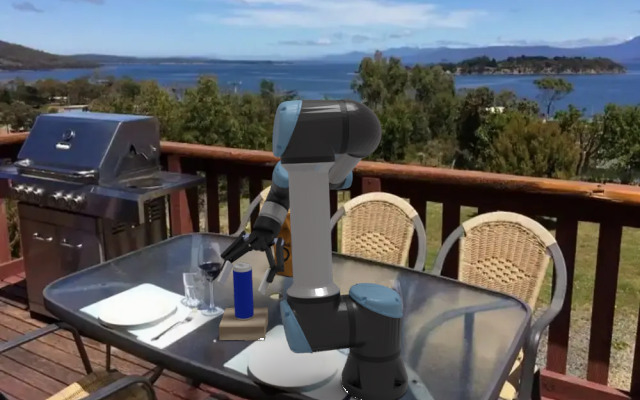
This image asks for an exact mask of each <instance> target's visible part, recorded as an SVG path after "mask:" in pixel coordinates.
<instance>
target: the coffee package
mask: <svg viewBox="0 0 640 400" xmlns="http://www.w3.org/2000/svg"><path fill="white" fill-rule="evenodd" d="M278 237H281V238H282V239H283V240H284V241H285V244H284V248H283V252H284V269H285V270H284V272H277V273H276V275H281V276H286V277H291V278H293V265H292V243H291V221H290V212H288V213H287V216H286V218H285V220H284V223H283V225H282V226H281V230H280V232H279V235H278ZM278 237H277V238H278ZM273 252H274V253H273V257H274V260H275V263H276V266H277V261H276V244H274V245H273Z"/></svg>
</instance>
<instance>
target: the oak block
mask: <svg viewBox="0 0 640 400" xmlns="http://www.w3.org/2000/svg"><path fill="white" fill-rule="evenodd" d="M268 324H269V307H254V315H253V317H252V318H251V319H248V320H239V319H237V318H236V317H235V307H225V309H224V311H223V315H222V317H221V320H220V323H219V326H218V334H219V341H220V340H245V341H259V340H258V339H260V338H265V339H266V336H267V330H268ZM265 335H266V336H265Z"/></svg>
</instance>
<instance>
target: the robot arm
mask: <svg viewBox="0 0 640 400" xmlns="http://www.w3.org/2000/svg"><path fill="white" fill-rule="evenodd" d="M275 112H276V113H275V116H274V122H273V127H272V129H273V130H272V155H273V157H275V158H280V160H279V161H278V162H276V164H275V166H274V169H273V172H272V178H271V182H270V183H271V184H270V188H269V191H268V192H267V196H266V198H265V200H264V202H263V204H262V206H261V208H260V210H259V212H258V216H257V217H256V220H255V222H254V224H253V226H252V231H251V232H250V233H249V232H246V231H245V230H242V231H241V232H240V234H239V236H237V238H236V239H235V240H234V241H233V242H232V243H231V244H229V246H228V247H226V249H225V250H224V251H222V253H221V254H220V258H221V259H223V264H222V266H221V267H220V274H219V276H218V277H217V281H216V282H217V284H219V285H221V286H223V287H224V286H225V284H226V282H227V280H228V278H229V275H230V274H231V272H232V270H233V267H234V264H233V263H234V262H236V261H238V260H239V259H240V258H241V257H243V256H245V255H246V254H248V253H249V252H252V251H256V252H257V251H258V252H259V251H260V252H262V253H265V256H266V259H267V262H268V265H269V267H268V268H266V271H265V272H264V274H263V277H262V279H261V282H260V285H259V286H258V289H257V291H258V293H259V294H261V295H262V296H265V294H266V292H267V290H268V287H269V285H270V284H272V283H273V282H274V280H275V276H276V275H277V274H276V273H277V272H284V270H285V269H284V252H283V248H284V244H285V241H284V240H283V239H282V238H281V237H278V235H279V232H280V230H281V226H282V225H283V223H284V220H285V218H286V216H287V213H290V221H291V243H292V265H293V277H292V279H293V280H292V284H291V285H290V287H289V288H288V289H286V299H285V298H284V299H282V300H281V301H280V303H279V306H280V308H279V310H280V316H281V322H282V326H283V330H284V336H285V338H286V342H287V345H288V348H289V350H290V351H291V352H293V353H294V354H314V353H320V352H329V351H339V350H347V349H349V351H348V355H347V358H346V361H345V363H344V365H343V369H342V370H341V371H342V372H341V386H342V385H343V387H344V388H345V389H346V391H348V393H349V394H348V395H349V396H350V395H351V396H350V397H352V396H353V397H356V398H358V399H362V400H398V399H400V398H401V397H403V396H404V395H405V394H406V392H407V390H408V387H409V377H408V376H409V375H408V373H407V369H406V366H405V363H404V360H403V356H402V331H403V330H402V327H403V325H402V324H403V316H404V313H403V304H402V303H403V301H402V298H401V295H400V294H399V293H398V292H397V291H396V290H394V289H392V288H391V287H388V286H385V285H382V284H377V283H371V282H360V283H356V284H352V285H351V286H350V288H349V289H348V293H347V294H341V288H340V287H339V286H338V285H337V284H336V283H335V282H334V280H333V278H334V277H333V258H332V255H333V254H332V252H333V251H332V250H333V249H332V229H331V227H332V226H331V203H330V190H337V191H338V190H341V189H342V190H343V189H348V188H350V187H351V186H352V183H353V170H354V169H355V167H357V165H358V164H359V163H360V162H361V160H362V159H364V158H367V157H369V156H370V155H372V154H373V153H374V152H375V151H376V150H377V148H378V146H379V144H380V142H381V140H382V126H381V122H380V120H379V118H378V116H377V114H376V113H375V112H374V111H373V110H372V109H371V108H370V107H369V106H367V105H366V104H364V103H362V102H359V101H357V100H353V99H349V98H347V99H346V98H345V99H343V98H342V99H297V100H296V99H295V100H287V101H283V102H281V103H280V104H279V105H278V106H277V108H276V111H275ZM277 237H278V238H277ZM274 244H276V261H277V266H276V263H275V260H274V253H273V252H274V251H273V250H272V246H274ZM343 387H342V388H343ZM353 397H352V398H353ZM356 398H355V399H356ZM358 399H357V400H358Z"/></svg>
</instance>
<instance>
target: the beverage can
mask: <svg viewBox="0 0 640 400" xmlns="http://www.w3.org/2000/svg"><path fill="white" fill-rule="evenodd" d="M232 282H233V283H232V285H233V302H234V307H233V308H235V317H236V318H237V319H239V320H248V319H251V318H252V317H253V315H254V308H255V307H254V287H253V285H254V283H253V282H254V281H253V267H252V264H251V263H249V262H236V263H235V264H233V267H232Z"/></svg>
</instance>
